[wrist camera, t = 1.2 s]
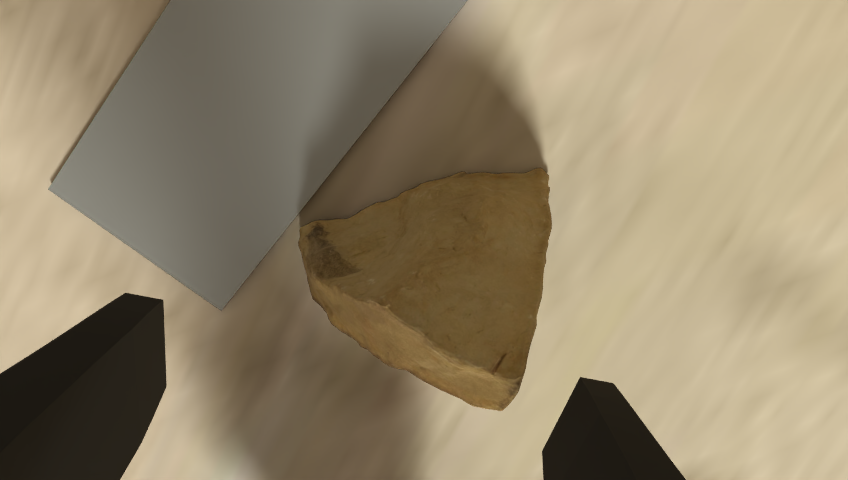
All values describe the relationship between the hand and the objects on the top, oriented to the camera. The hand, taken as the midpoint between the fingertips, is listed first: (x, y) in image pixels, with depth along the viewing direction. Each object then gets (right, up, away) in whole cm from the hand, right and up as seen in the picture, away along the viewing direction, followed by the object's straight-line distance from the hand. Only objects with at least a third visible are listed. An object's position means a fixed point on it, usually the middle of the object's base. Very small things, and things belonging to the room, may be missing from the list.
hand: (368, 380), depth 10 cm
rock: (+1, +3, +16) cm, 16 cm away
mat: (-4, +11, +13) cm, 17 cm away
